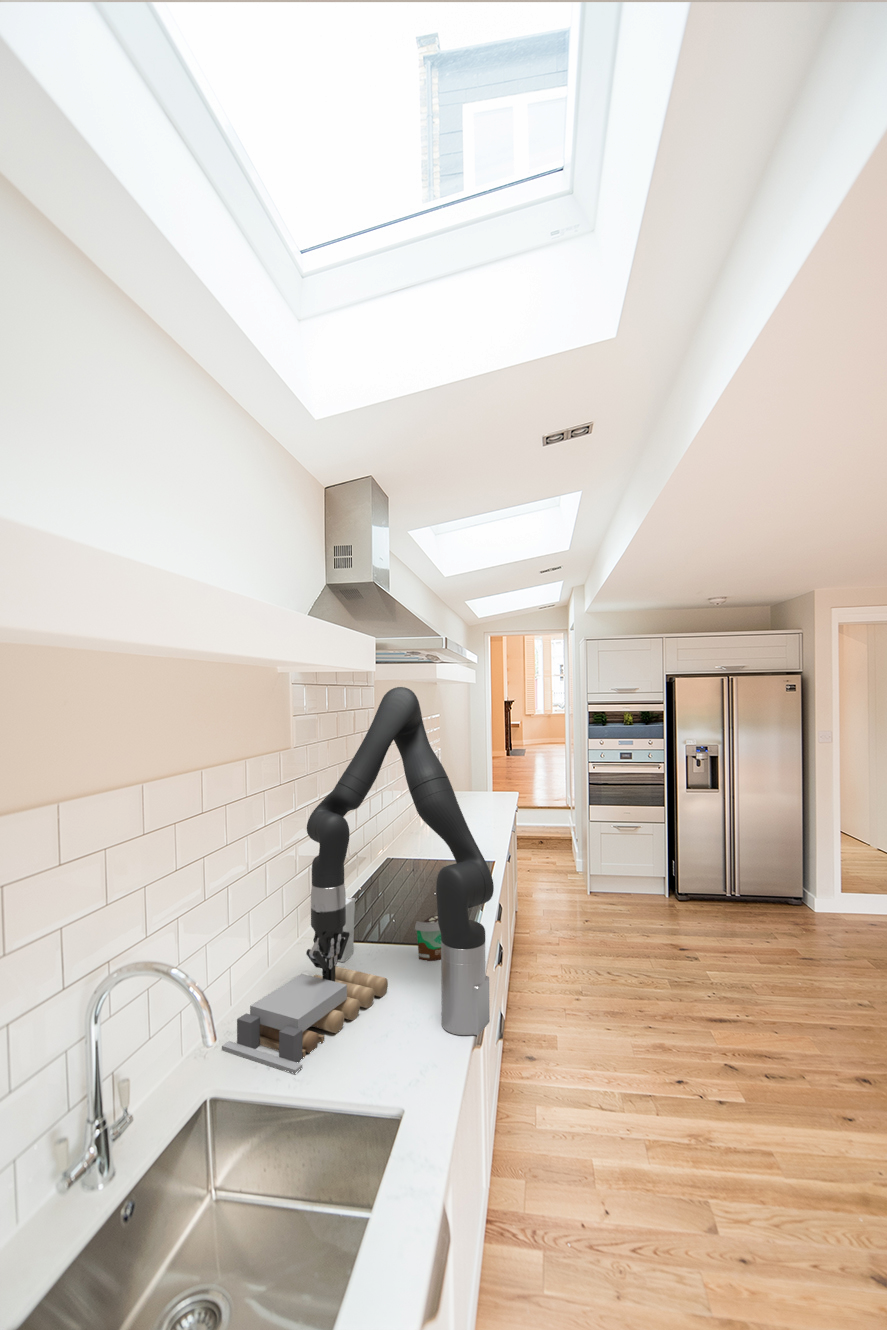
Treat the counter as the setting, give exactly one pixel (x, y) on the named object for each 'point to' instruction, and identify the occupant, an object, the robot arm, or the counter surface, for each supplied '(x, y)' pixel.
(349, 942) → the skincare box
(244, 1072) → the counter surface
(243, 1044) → the bumper posts
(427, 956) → the food container
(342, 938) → the robot arm
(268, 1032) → the roller
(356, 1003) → the roller bed
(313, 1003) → the slab
